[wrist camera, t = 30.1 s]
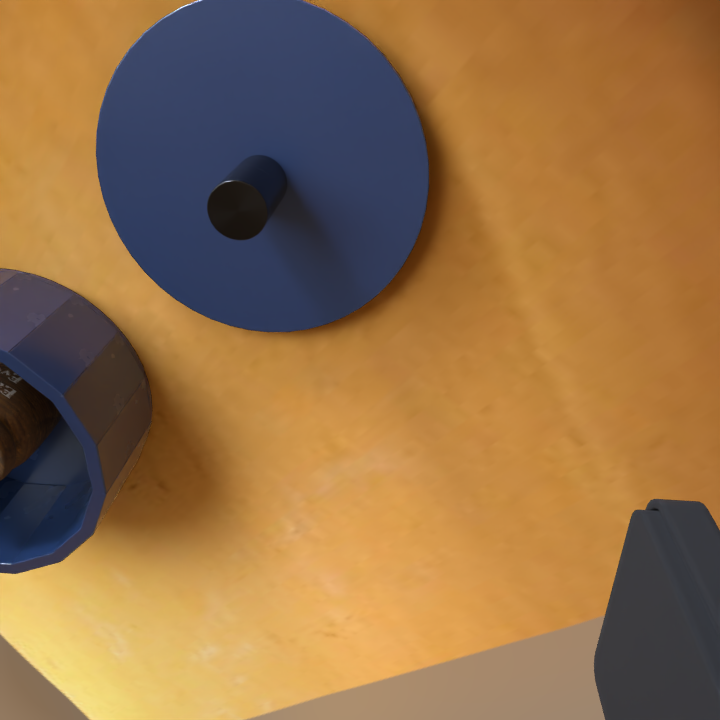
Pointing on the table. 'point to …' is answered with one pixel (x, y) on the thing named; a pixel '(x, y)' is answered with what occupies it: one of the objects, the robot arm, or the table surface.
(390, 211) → the tin lid
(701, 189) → the table surface
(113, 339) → the tin
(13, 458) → the utensil holder
